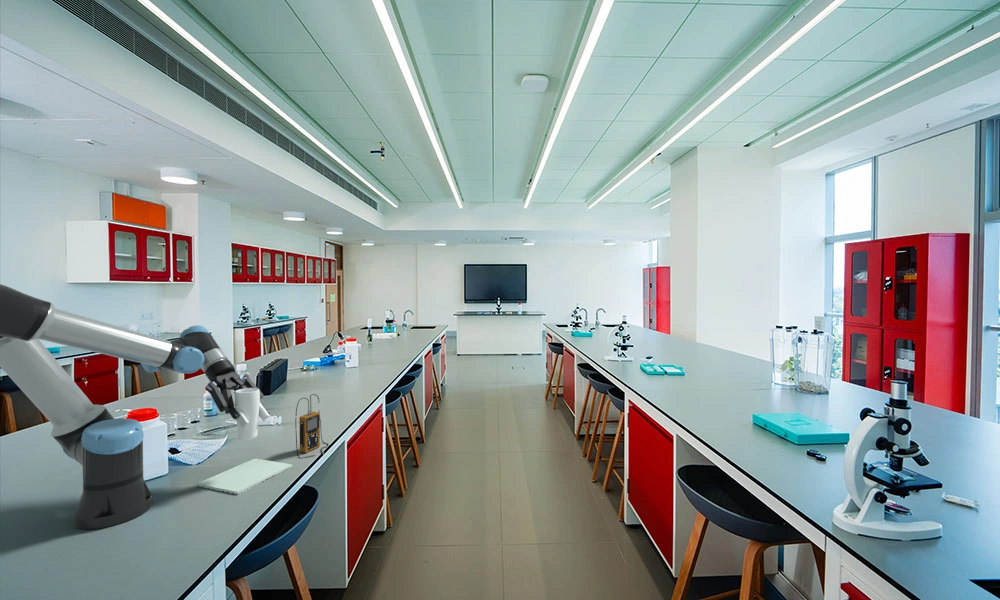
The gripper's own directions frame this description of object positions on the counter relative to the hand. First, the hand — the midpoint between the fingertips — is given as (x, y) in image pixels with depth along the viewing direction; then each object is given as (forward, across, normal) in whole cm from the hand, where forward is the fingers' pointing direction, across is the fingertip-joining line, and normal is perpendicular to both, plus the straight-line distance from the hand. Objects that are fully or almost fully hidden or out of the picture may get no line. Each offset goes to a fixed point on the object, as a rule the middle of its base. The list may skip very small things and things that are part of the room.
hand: (256, 421), depth 132 cm
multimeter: (+14, -24, -11) cm, 30 cm away
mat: (+10, 0, -15) cm, 18 cm away
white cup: (+2, 0, -6) cm, 7 cm away
